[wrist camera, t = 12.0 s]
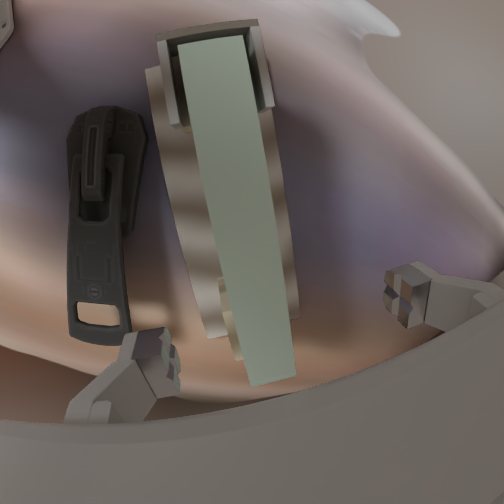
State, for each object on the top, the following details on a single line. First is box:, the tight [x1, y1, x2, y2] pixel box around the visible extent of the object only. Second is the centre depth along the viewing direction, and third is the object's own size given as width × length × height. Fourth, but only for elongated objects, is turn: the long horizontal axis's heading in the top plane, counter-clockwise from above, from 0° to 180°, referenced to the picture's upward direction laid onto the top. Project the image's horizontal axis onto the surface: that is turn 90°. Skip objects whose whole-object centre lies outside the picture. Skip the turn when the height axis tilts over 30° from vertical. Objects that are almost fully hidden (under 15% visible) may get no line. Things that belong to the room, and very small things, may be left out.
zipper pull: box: [66, 106, 148, 346], centre depth 27 cm, size 9×7×25 cm
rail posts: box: [145, 19, 301, 361], centre depth 26 cm, size 32×12×13 cm, turn 10°
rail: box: [177, 35, 296, 387], centre depth 21 cm, size 26×4×5 cm, turn 10°
